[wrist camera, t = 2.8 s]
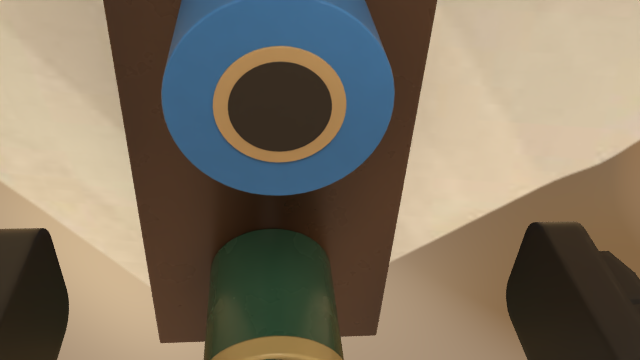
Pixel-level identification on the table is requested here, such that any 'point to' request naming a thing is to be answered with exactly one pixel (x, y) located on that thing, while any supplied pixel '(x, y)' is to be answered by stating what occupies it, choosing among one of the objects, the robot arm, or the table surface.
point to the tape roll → (276, 91)
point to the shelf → (254, 209)
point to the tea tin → (272, 300)
